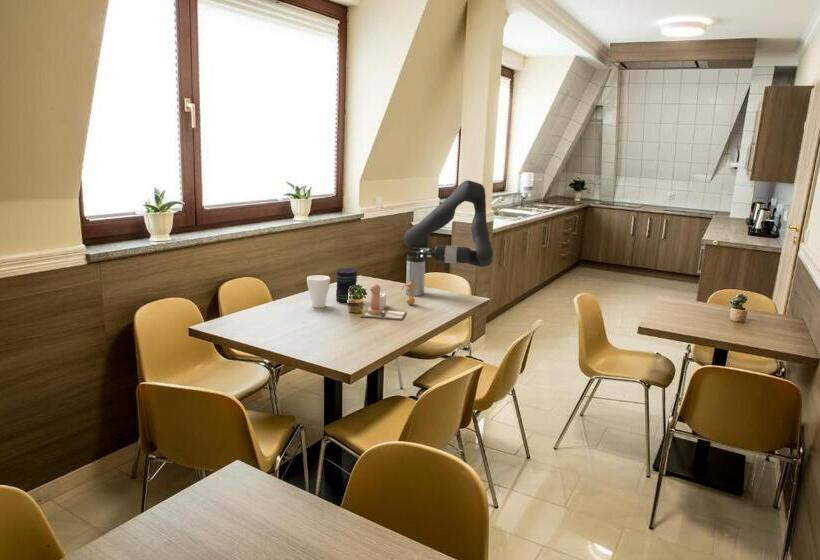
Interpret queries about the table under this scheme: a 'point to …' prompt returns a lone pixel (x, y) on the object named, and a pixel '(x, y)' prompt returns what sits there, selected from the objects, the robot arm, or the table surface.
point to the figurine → (410, 299)
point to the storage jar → (344, 283)
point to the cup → (318, 289)
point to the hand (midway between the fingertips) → (409, 252)
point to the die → (382, 300)
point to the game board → (386, 315)
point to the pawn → (375, 300)
